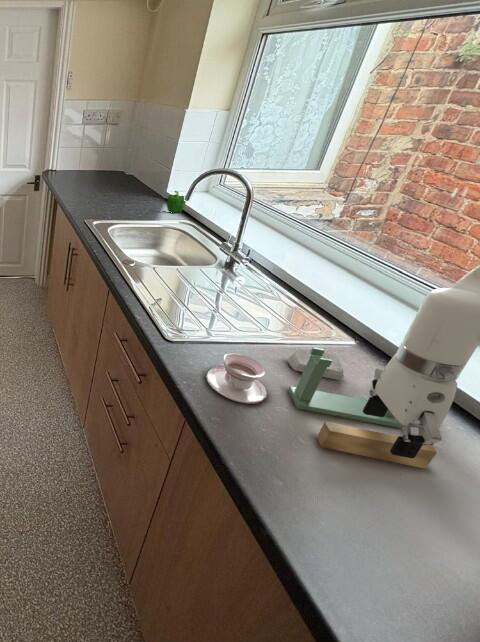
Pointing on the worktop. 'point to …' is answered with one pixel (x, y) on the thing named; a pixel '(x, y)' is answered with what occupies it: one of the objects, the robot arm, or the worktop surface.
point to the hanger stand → (331, 395)
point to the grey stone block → (302, 356)
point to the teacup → (238, 379)
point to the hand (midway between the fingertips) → (386, 433)
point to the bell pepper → (175, 203)
